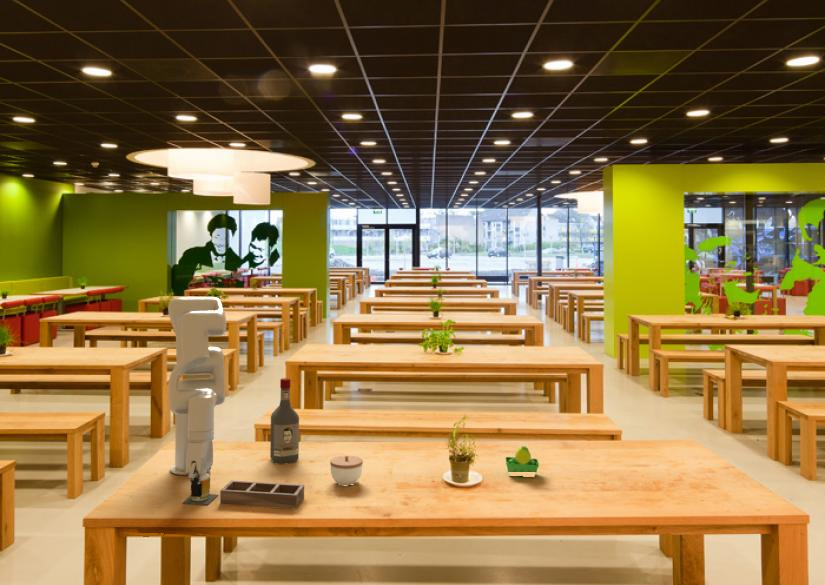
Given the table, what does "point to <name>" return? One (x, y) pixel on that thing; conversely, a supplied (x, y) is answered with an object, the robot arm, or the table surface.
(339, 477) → the lidded jar
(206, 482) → the supplement bottle
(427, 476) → the table surface
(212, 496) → the mat
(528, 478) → the table surface
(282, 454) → the liquor
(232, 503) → the rack
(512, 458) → the fruit basket
